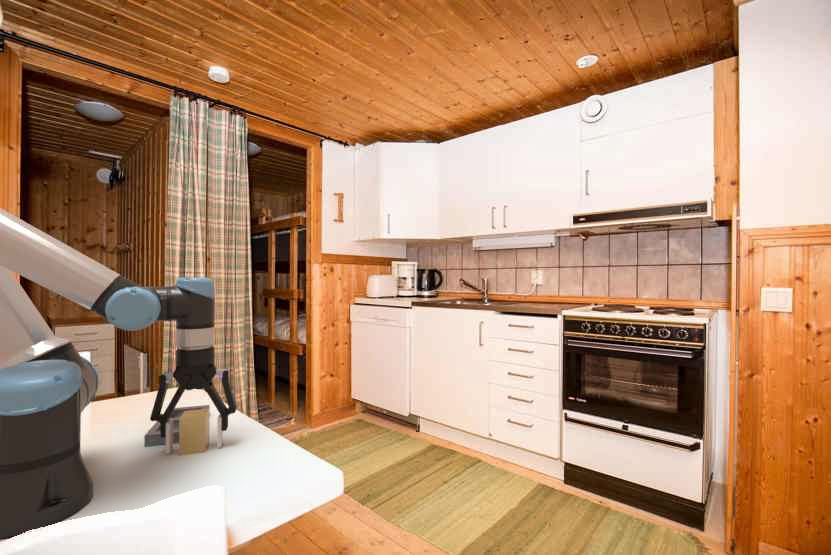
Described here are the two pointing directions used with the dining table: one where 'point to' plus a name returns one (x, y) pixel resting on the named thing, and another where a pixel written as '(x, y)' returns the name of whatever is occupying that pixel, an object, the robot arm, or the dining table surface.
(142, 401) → the dining table surface
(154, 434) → the rail
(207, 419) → the block
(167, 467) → the dining table surface
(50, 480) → the robot arm
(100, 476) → the dining table surface
